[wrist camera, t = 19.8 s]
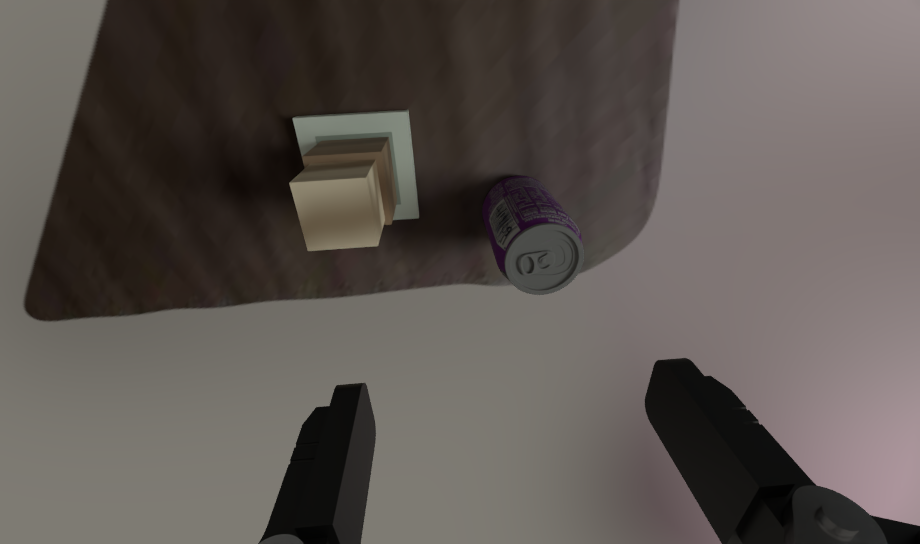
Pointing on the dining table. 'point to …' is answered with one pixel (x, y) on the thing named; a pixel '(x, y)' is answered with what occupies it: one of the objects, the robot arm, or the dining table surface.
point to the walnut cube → (361, 151)
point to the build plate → (370, 126)
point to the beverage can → (532, 236)
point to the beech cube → (339, 204)
